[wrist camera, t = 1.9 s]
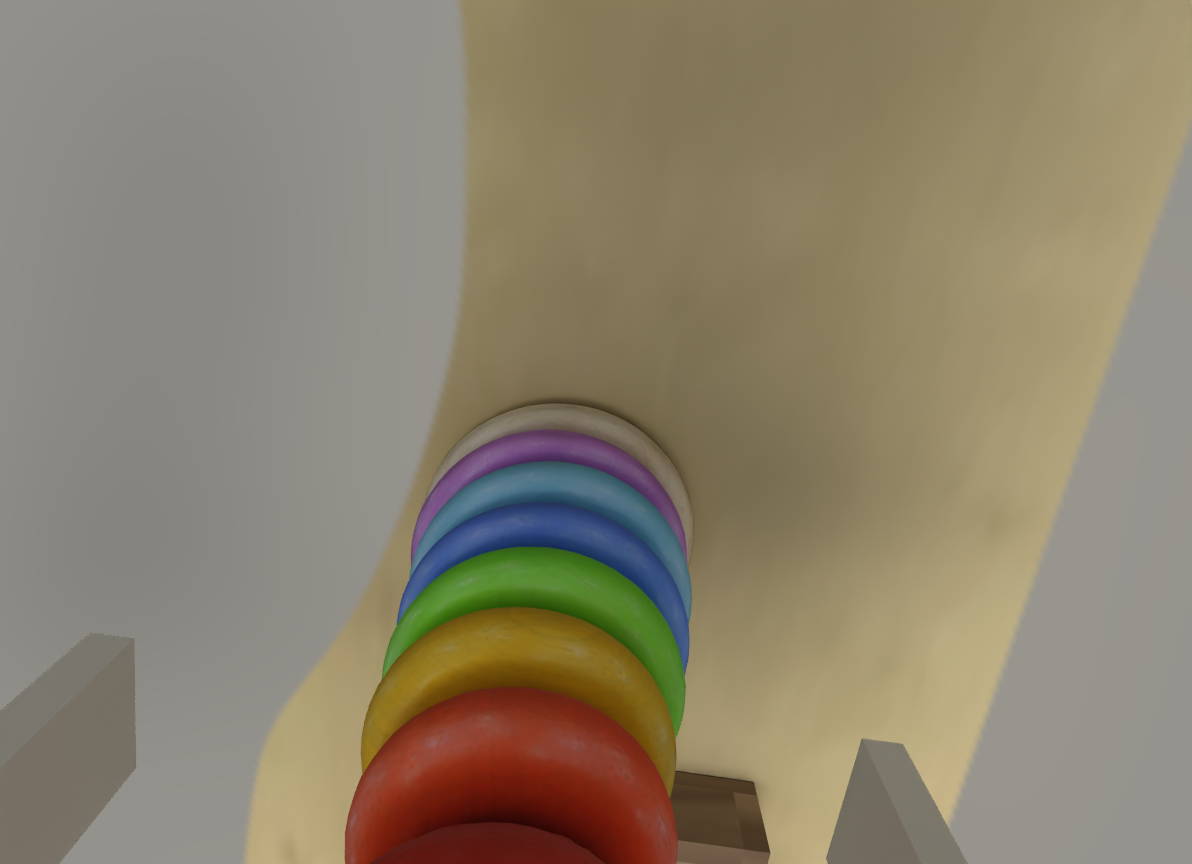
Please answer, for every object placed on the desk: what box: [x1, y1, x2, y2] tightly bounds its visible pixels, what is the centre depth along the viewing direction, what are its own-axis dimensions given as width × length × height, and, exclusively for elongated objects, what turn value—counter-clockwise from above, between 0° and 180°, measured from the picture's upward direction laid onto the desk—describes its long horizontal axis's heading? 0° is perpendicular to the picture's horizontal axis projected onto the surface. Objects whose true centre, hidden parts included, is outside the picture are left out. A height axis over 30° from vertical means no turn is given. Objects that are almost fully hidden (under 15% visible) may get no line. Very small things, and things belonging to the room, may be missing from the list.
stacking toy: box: [345, 403, 694, 864], centre depth 16 cm, size 8×8×19 cm
